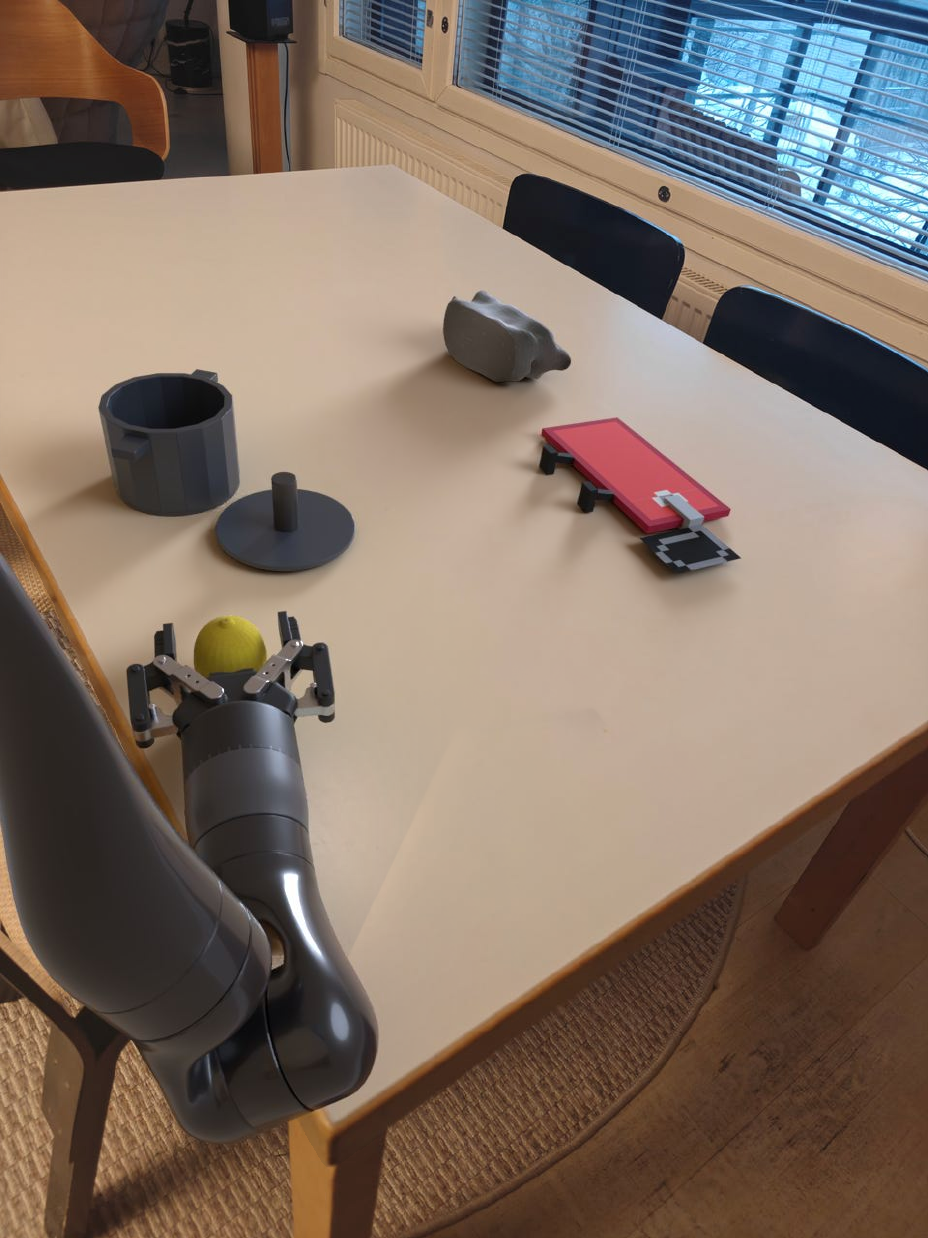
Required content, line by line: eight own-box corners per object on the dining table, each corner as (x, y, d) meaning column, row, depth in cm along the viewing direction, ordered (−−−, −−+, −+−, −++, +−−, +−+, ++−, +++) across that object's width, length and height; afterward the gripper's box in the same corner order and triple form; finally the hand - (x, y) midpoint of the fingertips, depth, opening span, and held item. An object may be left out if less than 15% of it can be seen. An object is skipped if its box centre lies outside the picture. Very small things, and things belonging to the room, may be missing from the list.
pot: (78, 516, 86) (57, 431, 79) (163, 432, 99) (151, 354, 93) (197, 541, 84) (185, 456, 78) (267, 453, 98) (262, 374, 92)
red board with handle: (659, 585, 85) (772, 557, 91) (666, 562, 83) (781, 535, 89) (514, 442, 105) (615, 427, 111) (517, 421, 103) (619, 407, 109)
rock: (577, 380, 120) (587, 324, 114) (518, 399, 114) (526, 341, 108) (489, 333, 129) (495, 279, 124) (431, 348, 123) (435, 293, 118)
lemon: (248, 727, 67) (240, 653, 62) (185, 706, 68) (172, 631, 63) (282, 681, 71) (277, 608, 66) (222, 662, 72) (213, 588, 67)
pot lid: (193, 559, 82) (184, 501, 78) (249, 486, 92) (245, 432, 88) (329, 588, 81) (328, 530, 76) (371, 511, 91) (372, 456, 87)
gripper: (355, 735, 55) (317, 578, 66) (117, 770, 51) (121, 597, 63) (354, 807, 60) (319, 649, 71) (137, 843, 56) (137, 671, 67)
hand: (226, 625), depth 67 cm, fingers open, 8 cm apart
